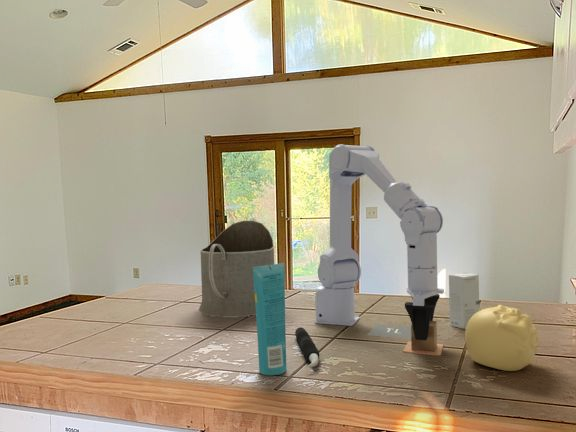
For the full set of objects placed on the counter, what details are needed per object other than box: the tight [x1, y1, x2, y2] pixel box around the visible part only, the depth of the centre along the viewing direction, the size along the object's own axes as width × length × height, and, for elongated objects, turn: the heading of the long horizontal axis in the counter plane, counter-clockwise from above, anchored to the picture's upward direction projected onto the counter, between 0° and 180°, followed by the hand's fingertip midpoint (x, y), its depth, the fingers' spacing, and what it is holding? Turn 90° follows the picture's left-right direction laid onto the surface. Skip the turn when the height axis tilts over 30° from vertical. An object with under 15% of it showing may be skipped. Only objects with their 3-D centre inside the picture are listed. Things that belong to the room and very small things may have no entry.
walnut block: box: [410, 320, 438, 352], centre depth 94 cm, size 4×4×5 cm
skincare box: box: [448, 272, 480, 330], centre depth 111 cm, size 6×4×12 cm
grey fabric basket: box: [198, 220, 275, 318], centre depth 132 cm, size 23×32×25 cm
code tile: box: [366, 323, 411, 340], centre depth 107 cm, size 10×10×1 cm
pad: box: [402, 340, 444, 357], centre depth 94 cm, size 7×7×1 cm
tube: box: [253, 262, 287, 376], centre depth 84 cm, size 7×5×19 cm, turn 140°
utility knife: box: [294, 327, 320, 368], centre depth 93 cm, size 22×4×3 cm, turn 7°
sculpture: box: [464, 304, 539, 372], centre depth 84 cm, size 12×12×11 cm
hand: (423, 334), depth 94 cm, fingers open, 7 cm apart
